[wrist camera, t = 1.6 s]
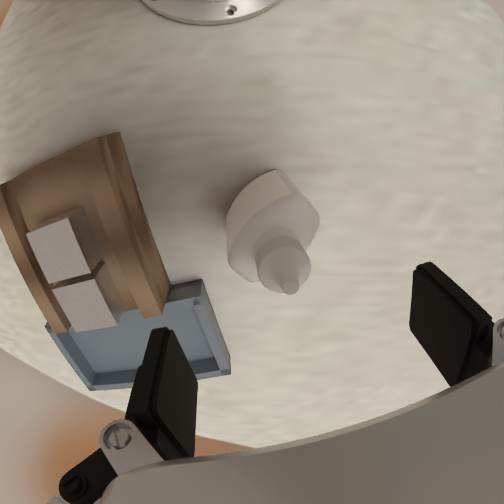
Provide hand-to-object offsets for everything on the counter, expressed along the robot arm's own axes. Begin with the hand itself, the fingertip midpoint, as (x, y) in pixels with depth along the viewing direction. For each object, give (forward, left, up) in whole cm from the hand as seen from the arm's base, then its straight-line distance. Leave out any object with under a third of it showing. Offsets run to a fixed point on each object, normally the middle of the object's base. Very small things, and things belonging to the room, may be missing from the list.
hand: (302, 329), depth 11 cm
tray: (+9, -14, -14) cm, 22 cm away
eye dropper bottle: (-1, 0, -14) cm, 14 cm away
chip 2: (+2, -14, -11) cm, 18 cm away
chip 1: (-3, -14, -11) cm, 18 cm away
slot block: (-2, -14, -14) cm, 20 cm away
